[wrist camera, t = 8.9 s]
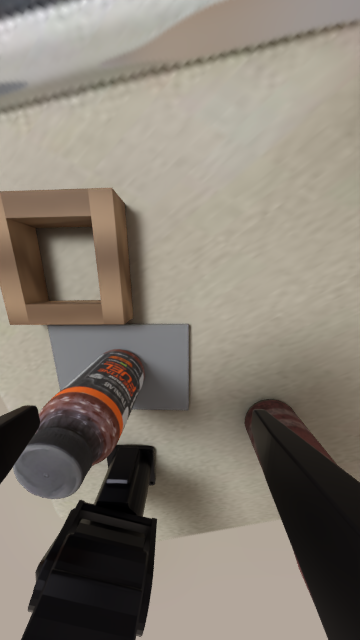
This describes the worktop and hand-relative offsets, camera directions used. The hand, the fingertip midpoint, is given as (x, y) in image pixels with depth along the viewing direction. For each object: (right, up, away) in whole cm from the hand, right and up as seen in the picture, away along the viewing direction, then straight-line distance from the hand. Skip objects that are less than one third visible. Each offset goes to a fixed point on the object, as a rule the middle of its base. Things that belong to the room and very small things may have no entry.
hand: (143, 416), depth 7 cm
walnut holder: (-10, +10, +11) cm, 18 cm away
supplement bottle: (-5, -2, +14) cm, 15 cm away
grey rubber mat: (-5, -2, +14) cm, 15 cm away
